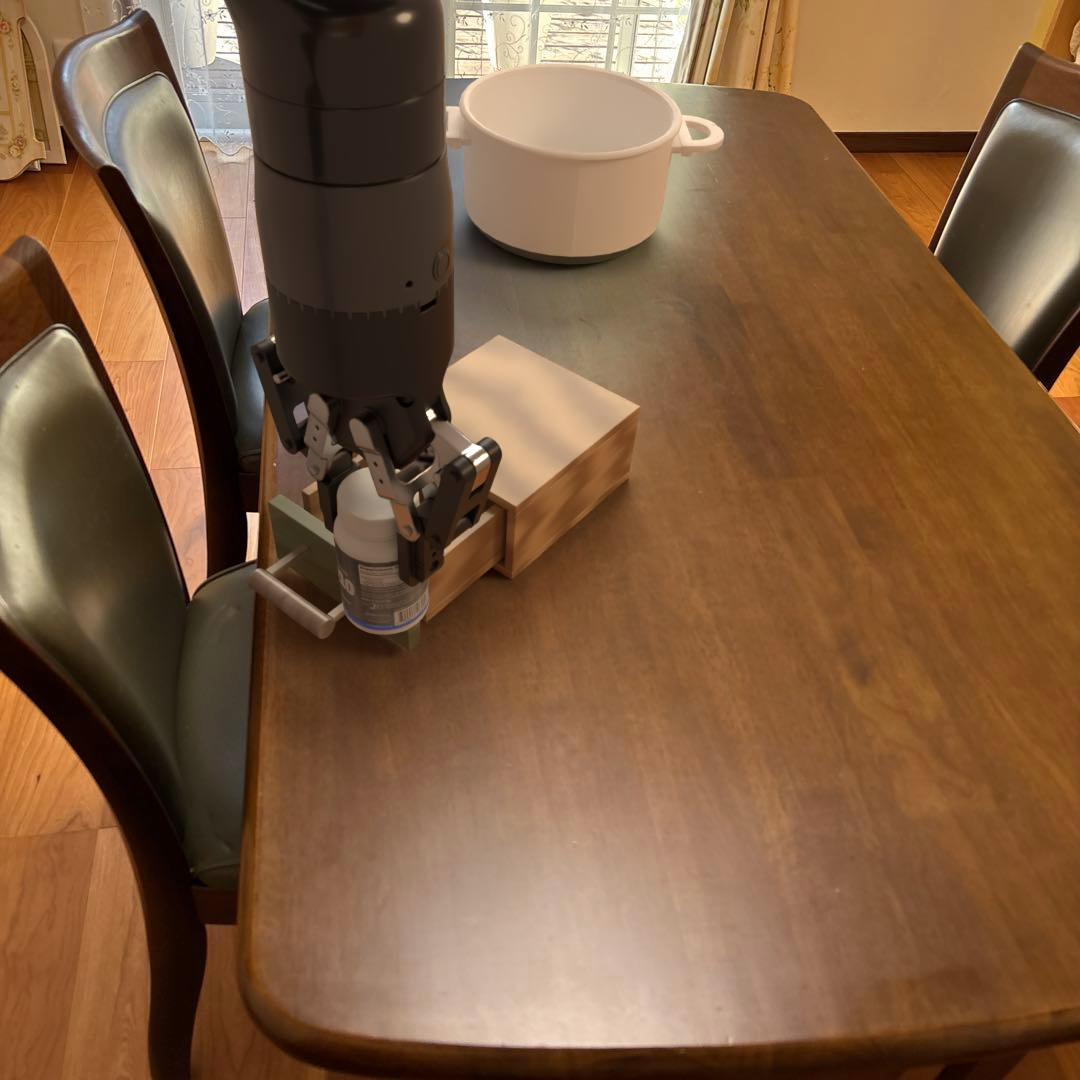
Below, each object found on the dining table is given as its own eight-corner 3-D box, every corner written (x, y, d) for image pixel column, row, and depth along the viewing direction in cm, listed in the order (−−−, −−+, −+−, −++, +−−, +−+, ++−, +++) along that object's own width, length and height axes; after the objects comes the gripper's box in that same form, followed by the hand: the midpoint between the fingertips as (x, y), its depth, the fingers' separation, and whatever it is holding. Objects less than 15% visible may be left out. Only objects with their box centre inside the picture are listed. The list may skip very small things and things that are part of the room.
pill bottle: (341, 576, 57) (326, 462, 51) (425, 568, 58) (421, 456, 52) (344, 642, 54) (329, 529, 48) (434, 633, 55) (430, 521, 49)
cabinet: (511, 580, 77) (516, 507, 72) (372, 492, 83) (367, 418, 78) (629, 478, 86) (640, 406, 81) (496, 405, 92) (498, 333, 87)
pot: (688, 182, 125) (708, 68, 116) (723, 284, 109) (750, 160, 99) (416, 174, 123) (413, 55, 113) (411, 277, 106) (407, 149, 97)
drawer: (357, 696, 68) (351, 640, 64) (223, 596, 73) (210, 538, 69) (538, 540, 79) (543, 484, 75) (411, 463, 84) (409, 407, 80)
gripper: (167, 223, 41) (233, 522, 54) (426, 368, 36) (434, 667, 48) (307, 163, 46) (339, 453, 58) (558, 284, 40) (535, 578, 52)
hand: (382, 548), depth 53 cm, fingers closed on pill bottle, 4 cm apart
